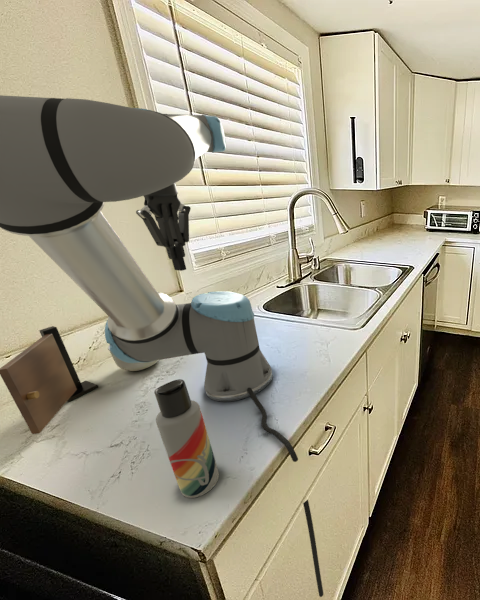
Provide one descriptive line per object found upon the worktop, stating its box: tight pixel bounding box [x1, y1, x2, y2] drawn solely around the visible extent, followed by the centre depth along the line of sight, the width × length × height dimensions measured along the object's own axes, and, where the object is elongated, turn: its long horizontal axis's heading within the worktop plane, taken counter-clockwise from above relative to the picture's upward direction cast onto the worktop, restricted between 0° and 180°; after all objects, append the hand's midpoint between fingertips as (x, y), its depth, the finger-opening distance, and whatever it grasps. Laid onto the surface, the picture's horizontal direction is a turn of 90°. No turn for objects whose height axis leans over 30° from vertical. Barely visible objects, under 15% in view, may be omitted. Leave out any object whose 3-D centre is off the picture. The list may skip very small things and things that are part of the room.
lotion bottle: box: [154, 379, 220, 499], centre depth 51 cm, size 6×6×20 cm
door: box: [0, 334, 77, 435], centre depth 68 cm, size 15×2×15 cm, turn 22°
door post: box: [38, 325, 99, 403], centre depth 76 cm, size 5×6×17 cm
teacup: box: [107, 344, 159, 372], centre depth 90 cm, size 14×11×8 cm
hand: (180, 269), depth 91 cm, fingers closed
